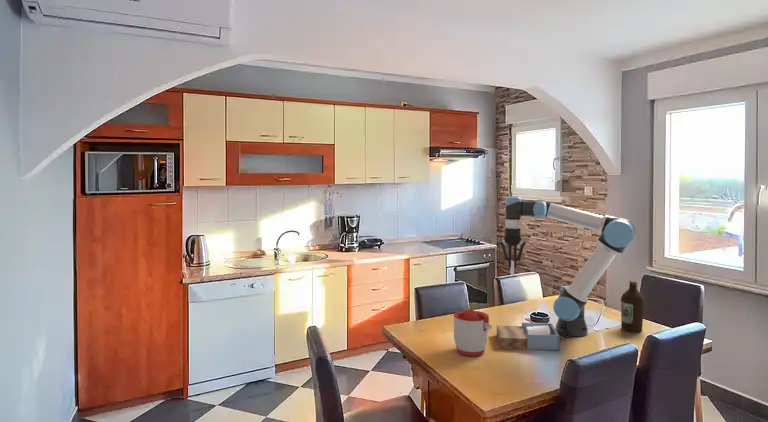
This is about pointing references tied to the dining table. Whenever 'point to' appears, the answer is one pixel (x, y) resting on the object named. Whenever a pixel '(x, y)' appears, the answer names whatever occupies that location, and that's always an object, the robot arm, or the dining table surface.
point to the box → (542, 338)
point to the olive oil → (632, 309)
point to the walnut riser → (511, 337)
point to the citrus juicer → (471, 332)
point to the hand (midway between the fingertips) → (512, 273)
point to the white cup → (538, 330)
